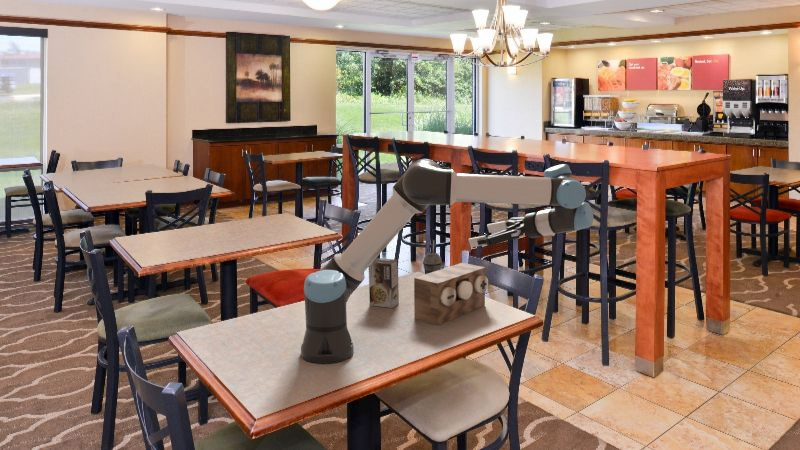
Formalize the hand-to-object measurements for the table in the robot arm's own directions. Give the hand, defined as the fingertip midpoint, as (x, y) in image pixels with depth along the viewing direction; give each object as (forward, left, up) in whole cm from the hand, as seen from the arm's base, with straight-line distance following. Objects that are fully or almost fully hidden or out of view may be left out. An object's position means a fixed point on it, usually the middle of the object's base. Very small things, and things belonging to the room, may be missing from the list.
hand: (479, 235), depth 205 cm
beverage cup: (+15, +32, -29) cm, 46 cm away
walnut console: (+2, +12, -29) cm, 31 cm away
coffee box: (-7, +36, -29) cm, 47 cm away
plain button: (+2, +7, -23) cm, 24 cm away
